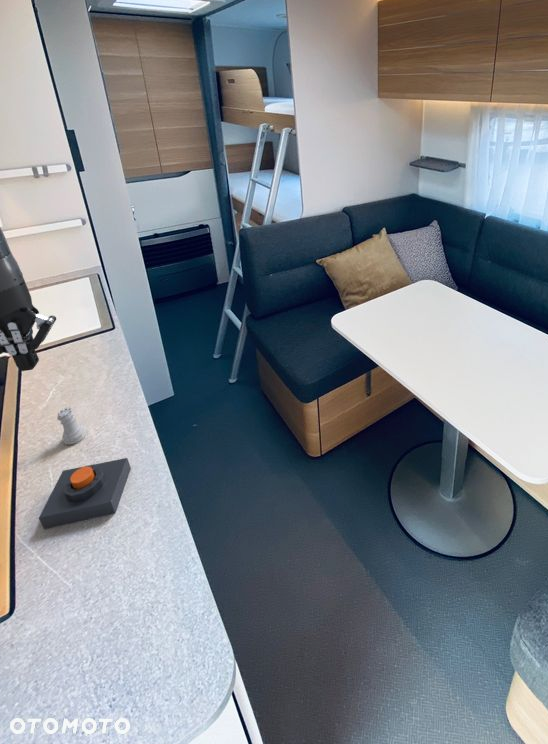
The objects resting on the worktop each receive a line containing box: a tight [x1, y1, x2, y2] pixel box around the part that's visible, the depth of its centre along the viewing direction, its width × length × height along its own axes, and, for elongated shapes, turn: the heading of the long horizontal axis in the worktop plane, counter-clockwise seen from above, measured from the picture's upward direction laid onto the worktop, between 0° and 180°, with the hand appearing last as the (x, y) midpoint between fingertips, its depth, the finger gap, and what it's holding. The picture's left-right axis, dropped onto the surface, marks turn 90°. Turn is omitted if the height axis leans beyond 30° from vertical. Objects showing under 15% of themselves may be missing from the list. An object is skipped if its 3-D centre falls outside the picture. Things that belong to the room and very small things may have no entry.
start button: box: [70, 465, 95, 489], centre depth 79 cm, size 4×4×2 cm
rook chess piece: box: [56, 407, 87, 445], centre depth 93 cm, size 4×4×8 cm
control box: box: [38, 457, 132, 530], centre depth 81 cm, size 12×10×5 cm
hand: (30, 367), depth 74 cm, fingers closed
